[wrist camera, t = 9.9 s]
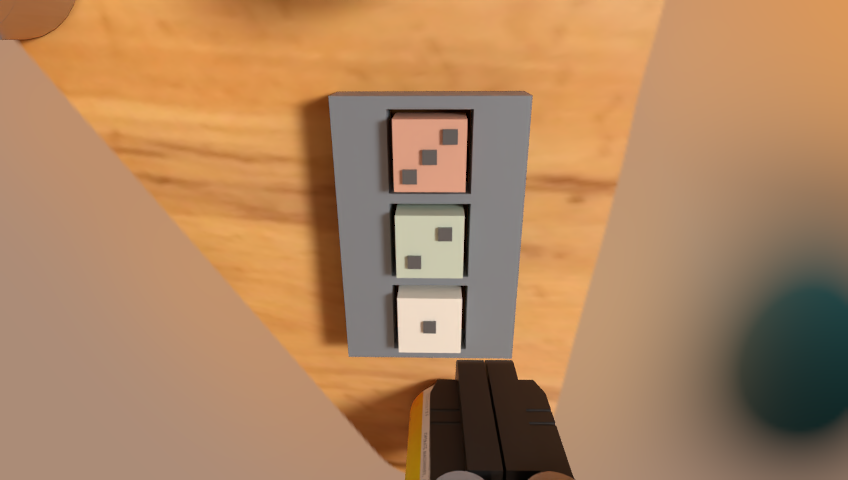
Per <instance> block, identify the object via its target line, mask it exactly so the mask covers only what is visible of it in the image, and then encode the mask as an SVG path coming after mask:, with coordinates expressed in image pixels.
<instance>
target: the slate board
mask: <svg viewBox="0 0 848 480" xmlns="http://www.w3.org/2000/svg"><path fill="white" fill-rule="evenodd" d="M328 97H329V110H330V123H331V135H332V148H333V161H334V174H335V187H336V199H337V212H338V225H339V238H340V251H341V263H342V276H343V289H344V302H345V314H346V327H347V340H348V353H349V357H426V358H509V359H512V348H513V335H514V323H515V310H516V297H517V285H518V272H519V260H520V247H521V235H522V222H523V209H524V197H525V184H526V172H527V159H528V146H529V134H530V121H531V109H532V95H530V94H529V93H527V92H525V91H423V92H336V93H334V94H332V95H330V96H328ZM390 109H471V122H470V153H469V182H466V188H465V192H394V182H393V181H392V148H391V116H390ZM393 204H468V215H467V246H466V260H463V278H397V275H396V260H395V246H394V213H393ZM396 285H458V286H465V308H464V329H461V353H406V352H399V342H398V328H397V311H396Z"/></svg>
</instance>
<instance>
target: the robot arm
mask: <svg viewBox="0 0 848 480" xmlns="http://www.w3.org/2000/svg"><path fill="white" fill-rule="evenodd" d="M74 3H75V0H0V39H2V40H4V39H5V40H8V39H9V40H28V39H32V38H36V37H40V36H43V35H45V34H47V33H49V32H50V31H52V30H54V29H56V28H57V27H58V26H59V25H60V24H61V23H62V22H63V21H64V20H65V19H66V17H67V16H68V14H69V12H70V10H71V8H72V7H73V5H74ZM429 447H430V480H575V479H574V477H573V475H572V472H571V469H570V466H569V463H568V460H567V457H566V454H565V451H564V448H563V445H562V442H561V439H560V436H559V433H558V430H557V427H556V426H555V421H554V418H553V415H552V412H551V409H550V406H549V403H548V400H547V397H546V394H545V393H544V391H543V390H542V389H541V388H540V387H539V386H538V385H537V384H536V383H535V382H534V380H518V378H517V374H516V370H515V367H514V363H513V361H512V360H485V362H484V361H483V360H457V361H456V378H455V380H437V382H436V383H435V385H434V387H433V389H432V390H431V392H430V430H429Z"/></svg>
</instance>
